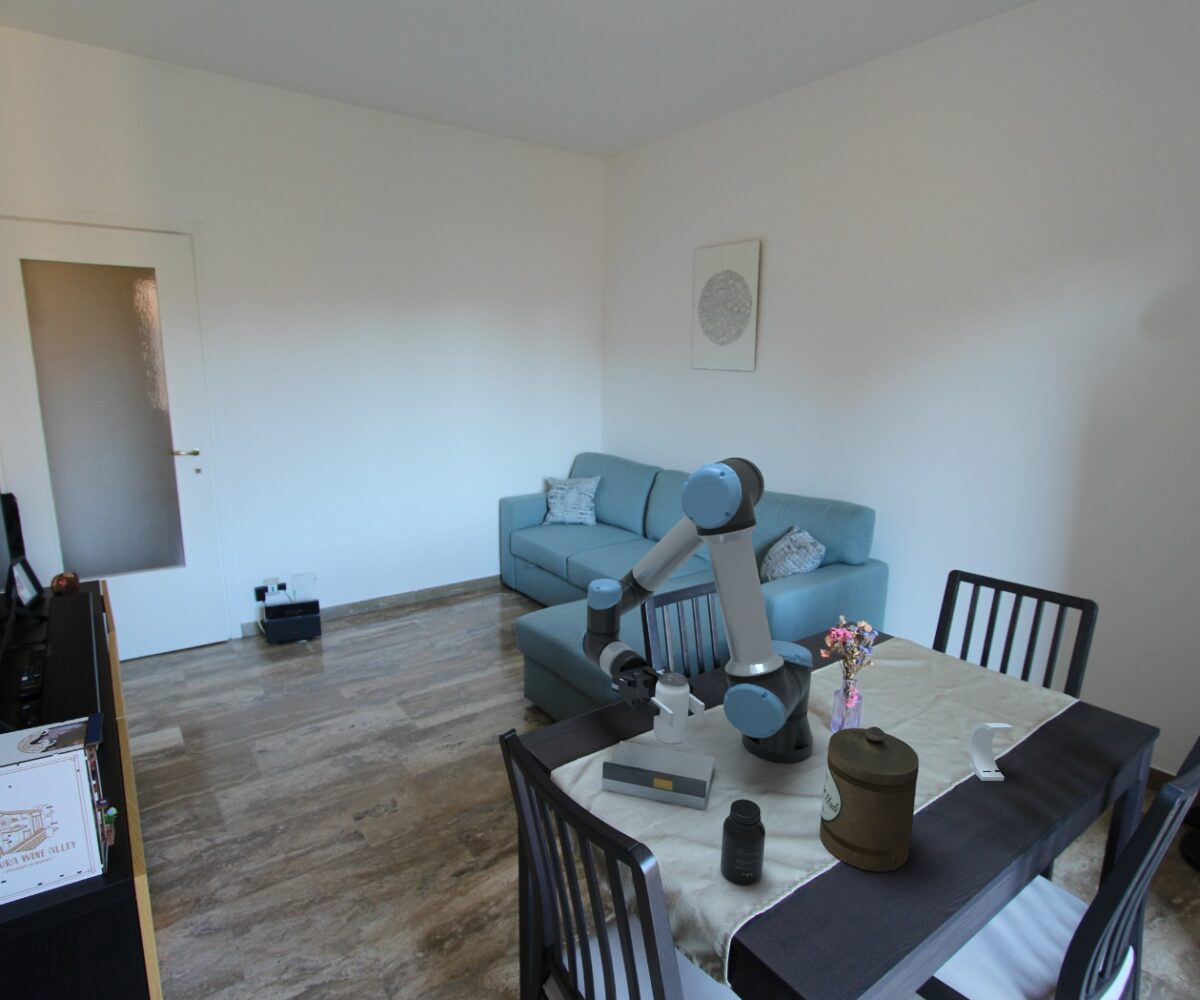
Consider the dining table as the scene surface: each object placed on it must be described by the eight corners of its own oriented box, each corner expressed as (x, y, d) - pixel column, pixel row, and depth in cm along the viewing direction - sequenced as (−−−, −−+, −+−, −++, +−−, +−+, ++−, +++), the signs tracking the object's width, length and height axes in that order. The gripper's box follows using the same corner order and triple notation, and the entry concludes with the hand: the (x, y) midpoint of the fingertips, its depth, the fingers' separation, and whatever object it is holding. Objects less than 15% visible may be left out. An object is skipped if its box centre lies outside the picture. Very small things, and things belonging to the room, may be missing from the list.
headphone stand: (982, 780, 143) (990, 727, 141) (965, 763, 149) (973, 712, 146) (1003, 780, 143) (1012, 727, 141) (986, 763, 149) (994, 712, 147)
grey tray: (713, 768, 145) (715, 744, 144) (704, 811, 131) (705, 785, 130) (620, 751, 150) (621, 728, 149) (601, 790, 136) (602, 765, 135)
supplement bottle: (715, 857, 119) (719, 795, 117) (754, 856, 120) (760, 793, 117) (726, 888, 113) (730, 822, 110) (767, 886, 113) (773, 820, 111)
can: (675, 724, 141) (679, 669, 138) (692, 741, 135) (696, 684, 133) (647, 731, 138) (650, 674, 136) (663, 748, 132) (666, 689, 130)
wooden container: (829, 805, 134) (840, 700, 129) (913, 833, 127) (928, 722, 122) (809, 851, 121) (821, 736, 117) (901, 885, 114) (918, 764, 109)
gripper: (661, 673, 156) (727, 721, 136) (583, 691, 147) (642, 746, 127) (662, 641, 154) (729, 686, 135) (584, 657, 145) (644, 708, 125)
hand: (687, 715), depth 131 cm, fingers closed on can, 6 cm apart
